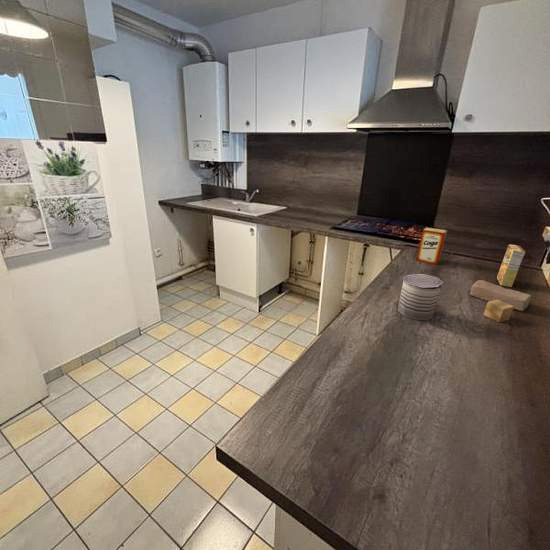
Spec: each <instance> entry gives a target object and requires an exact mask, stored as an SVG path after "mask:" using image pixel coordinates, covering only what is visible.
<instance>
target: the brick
mask: <svg viewBox="0 0 550 550" xmlns="http://www.w3.org/2000/svg"><path fill="white" fill-rule="evenodd" d="M469 295H470V296H472V297H475V298H478V299H480V300H483V301H486V302H489V301H494V300H500V301H503V302H505V303H507V304H510V305H512V306H514V308H513V310H516V311H520V312H525V310H526V309H527V308H528V307H529V303H530V301H531V297H532V295H531V294H529V293H524V292H521V291H518V290H515V289H511V288H505V287H504V286H502V285H497V284H494V283H491V282H489V281H487V280H483V279H479V280H476V282H475V283H473V284H472V285H471V287H470V292H469Z"/></svg>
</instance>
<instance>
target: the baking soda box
mask: <svg viewBox="0 0 550 550" xmlns="http://www.w3.org/2000/svg"><path fill="white" fill-rule="evenodd" d="M447 233H448V230H446V229H440V228H432V227H425V228H423V229H422V232H421V235H420V239H419V245H418V249H417V254H416V259H415V260H417V261H416V262H421V261H422V263H426V262H427V264H430V263H431V264H430V265H435V264H436V266H437V265H438V264H439V263H440V261H441V258H442V255H443V250H444V245H445V241H446V237H447Z"/></svg>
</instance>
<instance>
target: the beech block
mask: <svg viewBox="0 0 550 550" xmlns="http://www.w3.org/2000/svg"><path fill="white" fill-rule="evenodd" d="M513 308H514V306H512V305H510V304H507V303H505V302H503V301H500V300H494V301H487V303H486V307H485V309H484V312H483V316H485V317H487V318H489V319H490V320H492V321H494V322H497V323H502V322H506V321H510V319H511V316H512V313H513V310H514V309H513Z"/></svg>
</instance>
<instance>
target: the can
mask: <svg viewBox="0 0 550 550" xmlns="http://www.w3.org/2000/svg"><path fill="white" fill-rule="evenodd" d="M401 279H402V280H403V281H402V286H401V291H400V296H399V301H398V306H397V311H398V312H399V313H400V314H401V315H402V316H404V317H407V318H409V319H412V320H415V321H416V320H417V321H428V320H431V319H433V318H434V315H435V311H436V308H437V305H438V304H437V303H438V300H439V297H440V293H441V289H442V285H443V284H444V283H445V282H444V281H442V279H440V278H439V277H437V276H433V275H428V274H423V273H420V274H419V273H417V274H416V273H413V274H407V275H406V276H404V277H402V278H401Z"/></svg>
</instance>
